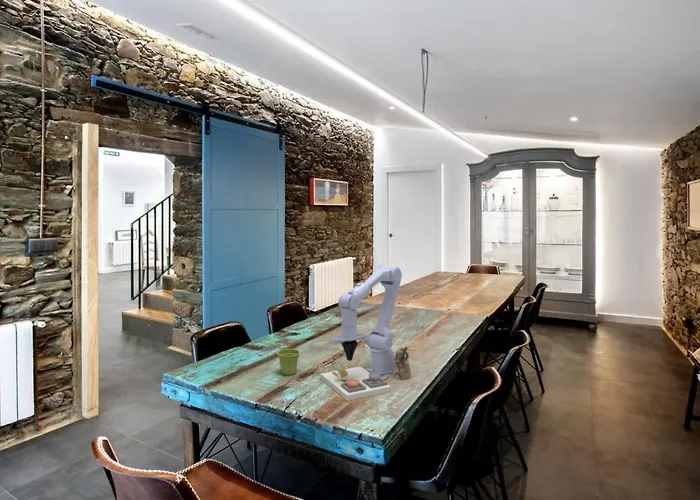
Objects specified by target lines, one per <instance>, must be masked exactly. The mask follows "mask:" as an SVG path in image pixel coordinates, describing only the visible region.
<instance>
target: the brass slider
mask: <svg viewBox="0 0 700 500" xmlns="http://www.w3.org/2000/svg"><path fill="white" fill-rule="evenodd" d="M345 369H346V367H345V366H344V364H339V370H338V371H337V370H336V371H337V378H338V379H339V380H340V381H342V380H347V379H348V372H347V371H346V370H345Z"/></svg>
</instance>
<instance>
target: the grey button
mask: <svg viewBox="0 0 700 500" xmlns="http://www.w3.org/2000/svg"><path fill="white" fill-rule="evenodd" d="M369 373H370V374H369V380H370V381H373V382H377V381H380V380H381V379H382V378H381V374H379V373H371V372H369Z"/></svg>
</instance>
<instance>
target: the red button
mask: <svg viewBox="0 0 700 500" xmlns="http://www.w3.org/2000/svg"><path fill="white" fill-rule="evenodd" d="M347 387H348V388H350V389H353V388H358V387H359V380H355V379H351V380H348V381H347Z"/></svg>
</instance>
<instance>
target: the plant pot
mask: <svg viewBox="0 0 700 500" xmlns="http://www.w3.org/2000/svg"><path fill="white" fill-rule="evenodd" d="M276 354H277V357H278V359H279V366H280V373H281V374H282V375H285V376H292V375H294V374H296V373H297V368H298V359H299V356H300V354H301V351H300V350H299V349H296V348H284V349H280V350H278V351H277V352H276Z"/></svg>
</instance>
